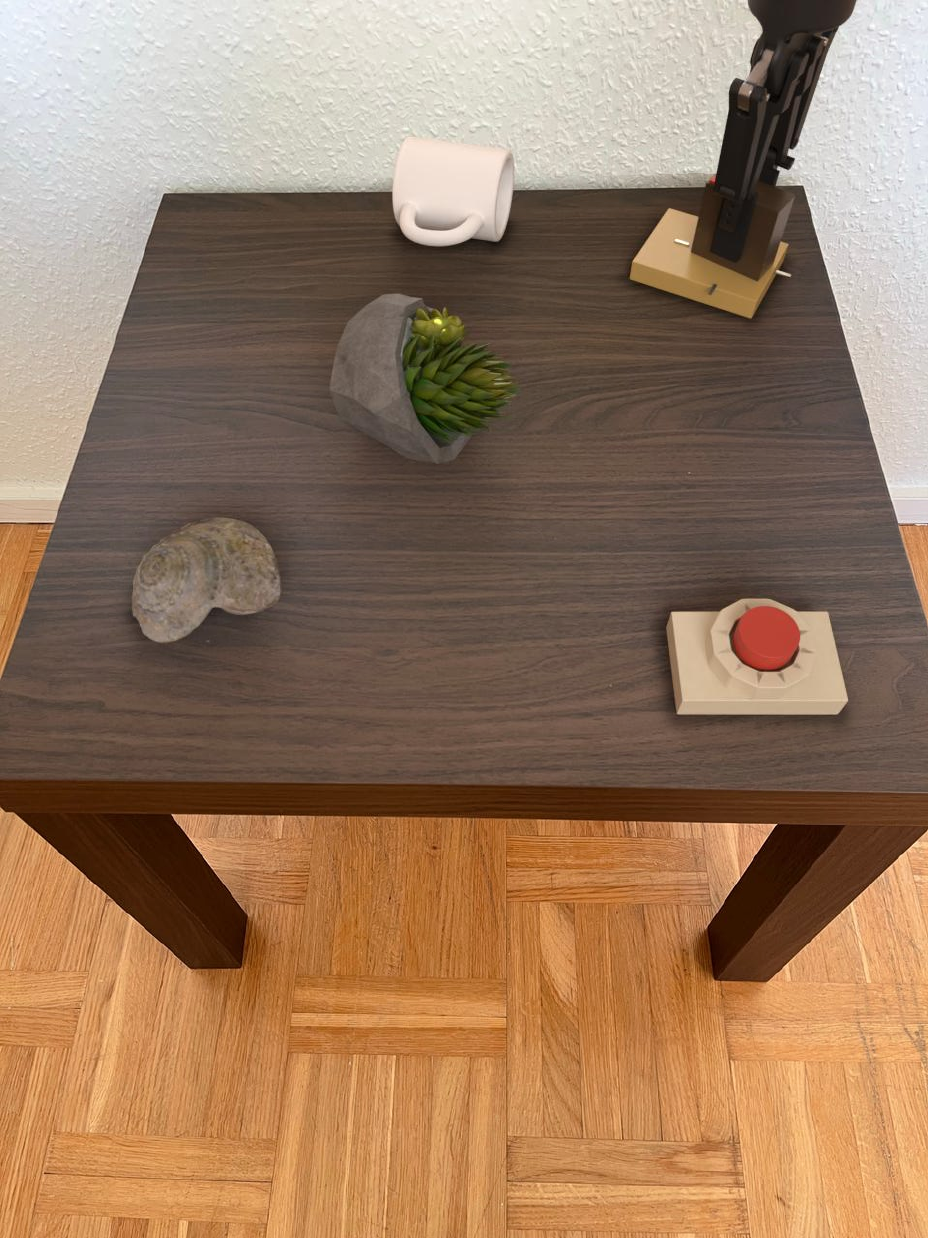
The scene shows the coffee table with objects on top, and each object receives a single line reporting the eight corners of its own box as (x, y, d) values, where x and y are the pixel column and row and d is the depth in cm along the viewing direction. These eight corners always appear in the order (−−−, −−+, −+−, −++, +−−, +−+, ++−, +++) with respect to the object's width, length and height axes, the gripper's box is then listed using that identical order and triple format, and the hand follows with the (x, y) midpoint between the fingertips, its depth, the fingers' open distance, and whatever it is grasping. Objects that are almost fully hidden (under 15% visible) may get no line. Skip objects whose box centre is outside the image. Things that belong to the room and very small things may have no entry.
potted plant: (396, 311, 79) (557, 313, 73) (383, 460, 81) (538, 475, 75) (314, 277, 69) (493, 276, 62) (300, 449, 71) (473, 465, 64)
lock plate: (803, 260, 87) (809, 240, 85) (764, 332, 82) (770, 312, 80) (669, 219, 91) (673, 199, 89) (624, 286, 86) (627, 266, 84)
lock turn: (773, 264, 84) (796, 191, 77) (757, 281, 82) (779, 209, 76) (706, 235, 86) (723, 162, 80) (690, 252, 85) (706, 179, 79)
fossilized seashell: (180, 506, 71) (173, 473, 64) (304, 567, 72) (309, 540, 65) (110, 626, 68) (96, 604, 61) (241, 687, 69) (241, 672, 62)
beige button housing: (818, 627, 66) (836, 597, 63) (837, 714, 62) (858, 688, 59) (665, 627, 66) (675, 597, 63) (676, 714, 63) (687, 688, 59)
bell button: (787, 618, 62) (794, 605, 61) (797, 670, 60) (805, 657, 59) (728, 619, 62) (734, 605, 61) (736, 670, 60) (743, 658, 59)
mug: (419, 195, 93) (414, 118, 87) (513, 209, 92) (516, 132, 85) (382, 269, 87) (374, 193, 81) (483, 286, 86) (483, 210, 79)
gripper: (818, -108, 67) (742, 186, 87) (707, -20, 61) (652, 275, 81) (915, -81, 65) (813, 215, 85) (810, 13, 58) (727, 309, 79)
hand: (735, 243), depth 83 cm, fingers closed on lock turn, 3 cm apart
